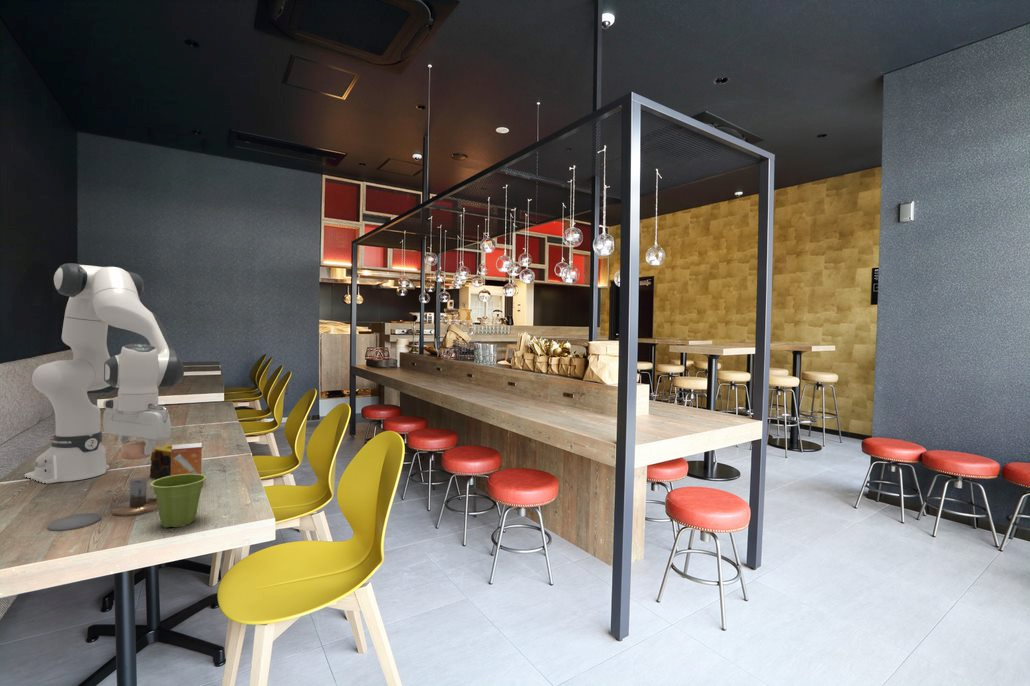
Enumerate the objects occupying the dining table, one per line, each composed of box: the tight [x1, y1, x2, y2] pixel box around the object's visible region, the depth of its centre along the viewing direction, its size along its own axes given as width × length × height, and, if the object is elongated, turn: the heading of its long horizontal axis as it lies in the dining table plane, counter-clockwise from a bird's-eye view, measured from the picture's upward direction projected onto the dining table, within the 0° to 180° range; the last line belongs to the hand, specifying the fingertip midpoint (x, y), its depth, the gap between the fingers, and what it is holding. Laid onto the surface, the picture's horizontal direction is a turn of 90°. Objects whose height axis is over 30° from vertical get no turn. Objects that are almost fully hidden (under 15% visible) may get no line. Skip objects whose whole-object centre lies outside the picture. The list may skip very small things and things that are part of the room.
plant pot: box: [150, 473, 207, 528], centre depth 123 cm, size 12×12×11 cm
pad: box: [47, 512, 102, 532], centre depth 121 cm, size 10×10×1 cm
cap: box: [117, 438, 156, 461], centre depth 131 cm, size 9×6×4 cm, turn 166°
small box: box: [171, 442, 203, 476], centre depth 151 cm, size 8×6×13 cm
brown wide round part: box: [111, 477, 158, 517], centre depth 132 cm, size 11×11×8 cm
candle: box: [149, 442, 184, 480], centre depth 161 cm, size 10×10×10 cm
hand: (136, 452), depth 131 cm, fingers closed on cap, 6 cm apart
